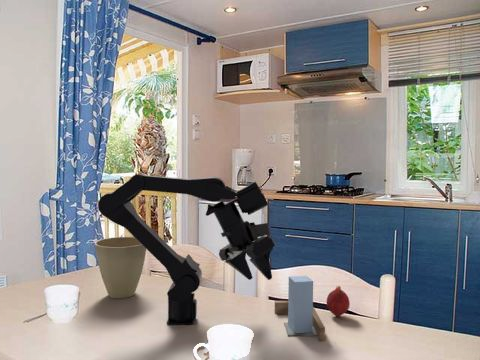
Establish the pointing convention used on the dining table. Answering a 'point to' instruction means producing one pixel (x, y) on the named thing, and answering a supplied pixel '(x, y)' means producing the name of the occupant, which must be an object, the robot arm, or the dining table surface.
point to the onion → (338, 302)
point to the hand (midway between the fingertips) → (260, 279)
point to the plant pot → (120, 264)
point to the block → (300, 304)
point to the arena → (317, 330)
